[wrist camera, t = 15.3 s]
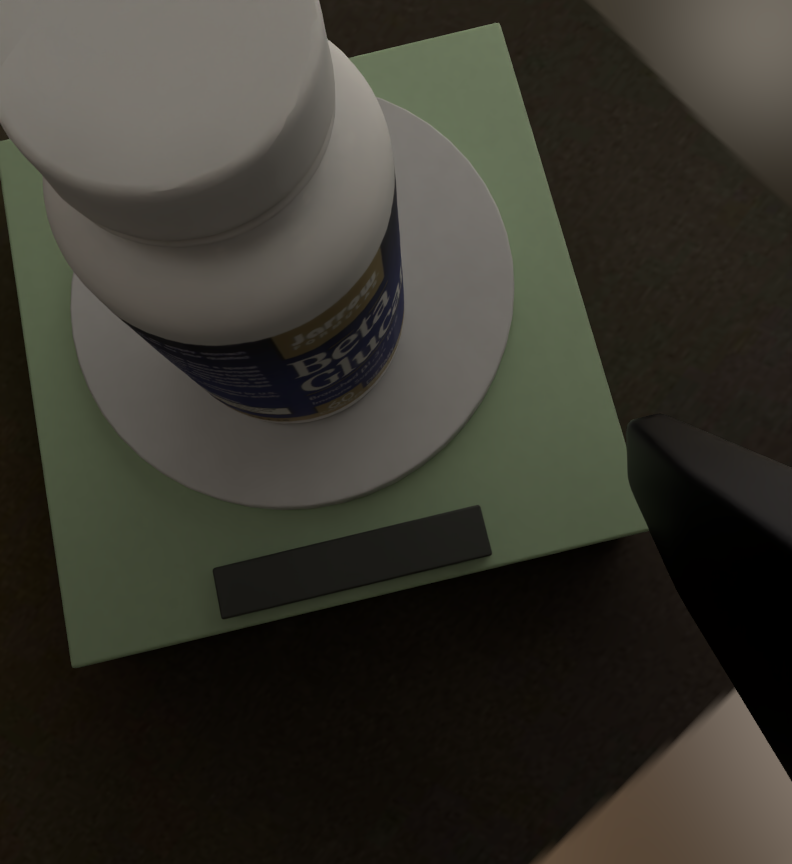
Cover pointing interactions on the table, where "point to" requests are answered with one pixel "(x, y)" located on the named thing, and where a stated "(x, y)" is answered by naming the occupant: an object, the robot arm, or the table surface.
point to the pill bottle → (216, 188)
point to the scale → (349, 429)
